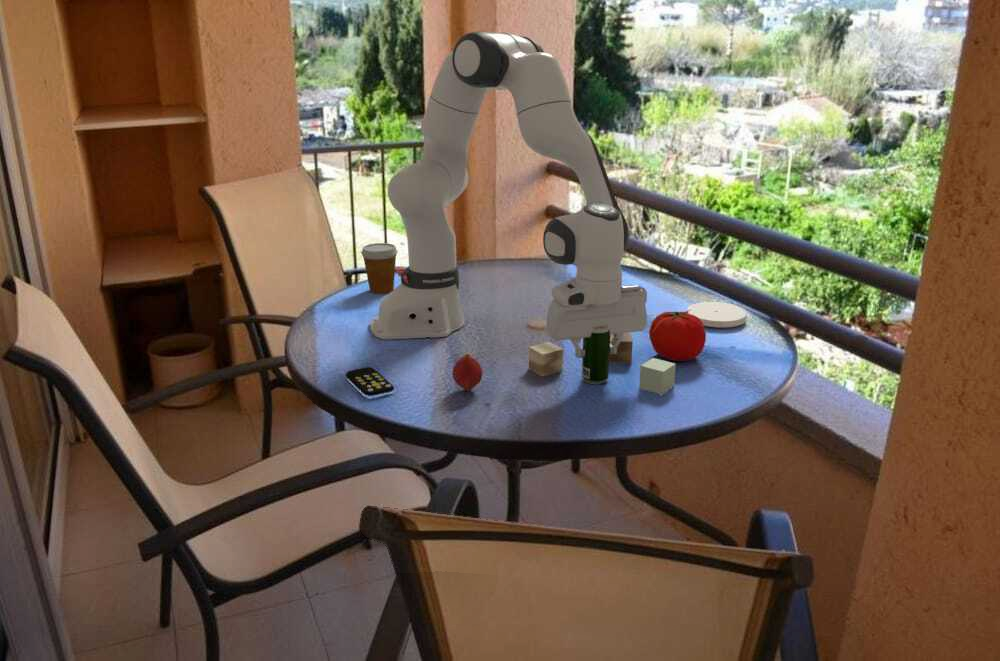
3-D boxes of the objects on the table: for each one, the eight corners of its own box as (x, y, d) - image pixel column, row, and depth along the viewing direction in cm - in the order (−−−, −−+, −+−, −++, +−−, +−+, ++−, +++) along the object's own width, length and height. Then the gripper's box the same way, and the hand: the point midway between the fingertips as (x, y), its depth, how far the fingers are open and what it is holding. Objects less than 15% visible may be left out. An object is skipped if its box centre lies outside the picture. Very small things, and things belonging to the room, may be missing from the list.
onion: (447, 390, 165) (445, 352, 163) (468, 381, 169) (467, 345, 166) (467, 399, 162) (466, 361, 159) (488, 390, 165) (488, 352, 162)
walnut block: (607, 363, 178) (608, 341, 176) (606, 354, 182) (607, 332, 181) (631, 363, 178) (632, 341, 176) (629, 354, 182) (630, 333, 180)
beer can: (596, 387, 166) (598, 330, 162) (576, 379, 170) (577, 323, 165) (613, 379, 169) (616, 323, 165) (593, 371, 173) (595, 317, 169)
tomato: (711, 353, 182) (715, 308, 179) (694, 371, 173) (697, 325, 169) (658, 343, 188) (661, 299, 184) (639, 360, 179) (642, 315, 175)
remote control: (372, 373, 175) (371, 364, 174) (396, 395, 164) (396, 386, 164) (343, 379, 172) (343, 370, 171) (367, 402, 162) (366, 393, 161)
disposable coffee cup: (360, 287, 228) (357, 244, 224) (394, 283, 231) (392, 241, 227) (368, 297, 220) (365, 253, 216) (403, 293, 223) (401, 249, 219)
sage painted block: (661, 395, 163) (663, 371, 161) (639, 388, 166) (640, 365, 164) (674, 386, 166) (675, 363, 165) (651, 380, 169) (653, 357, 167)
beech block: (542, 377, 171) (542, 354, 170) (528, 368, 175) (528, 346, 174) (562, 371, 174) (562, 349, 172) (548, 363, 178) (548, 341, 176)
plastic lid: (757, 322, 201) (758, 312, 200) (720, 336, 193) (721, 325, 192) (710, 307, 211) (711, 298, 210) (673, 320, 203) (674, 310, 202)
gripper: (640, 279, 168) (636, 343, 173) (544, 289, 163) (543, 354, 168) (654, 289, 163) (650, 355, 168) (555, 299, 157) (553, 366, 162)
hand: (595, 355), depth 168 cm, fingers closed on beer can, 5 cm apart
